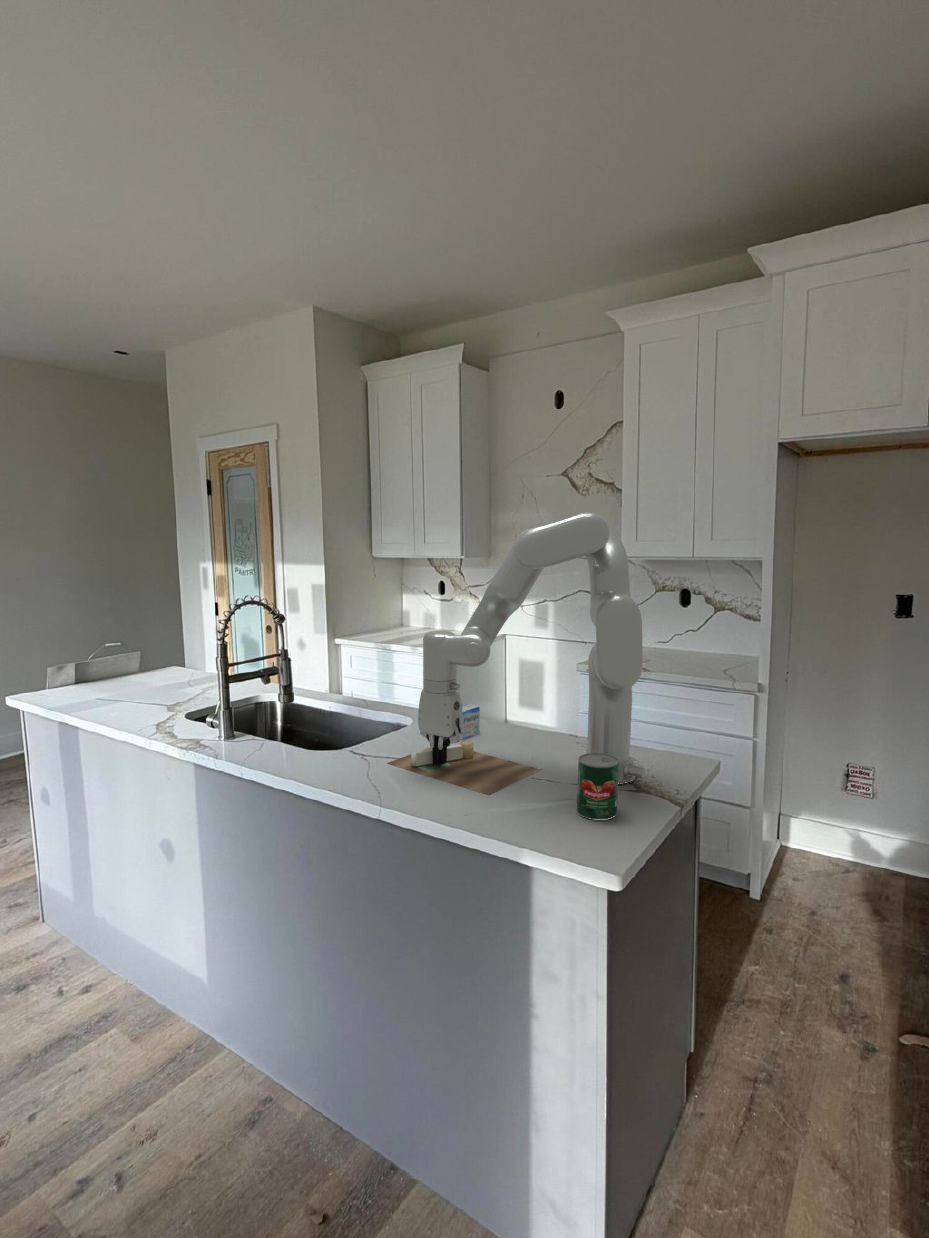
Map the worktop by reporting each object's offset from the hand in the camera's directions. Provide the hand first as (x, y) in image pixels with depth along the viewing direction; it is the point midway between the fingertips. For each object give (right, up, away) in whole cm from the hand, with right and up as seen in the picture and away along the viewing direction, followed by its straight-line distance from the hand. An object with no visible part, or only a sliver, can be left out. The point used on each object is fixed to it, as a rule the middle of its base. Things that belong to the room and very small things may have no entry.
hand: (439, 763), depth 158 cm
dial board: (+5, -2, +1) cm, 6 cm away
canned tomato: (+32, -5, -21) cm, 39 cm away
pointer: (+1, 0, +4) cm, 4 cm away
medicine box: (+6, +1, +25) cm, 26 cm away
